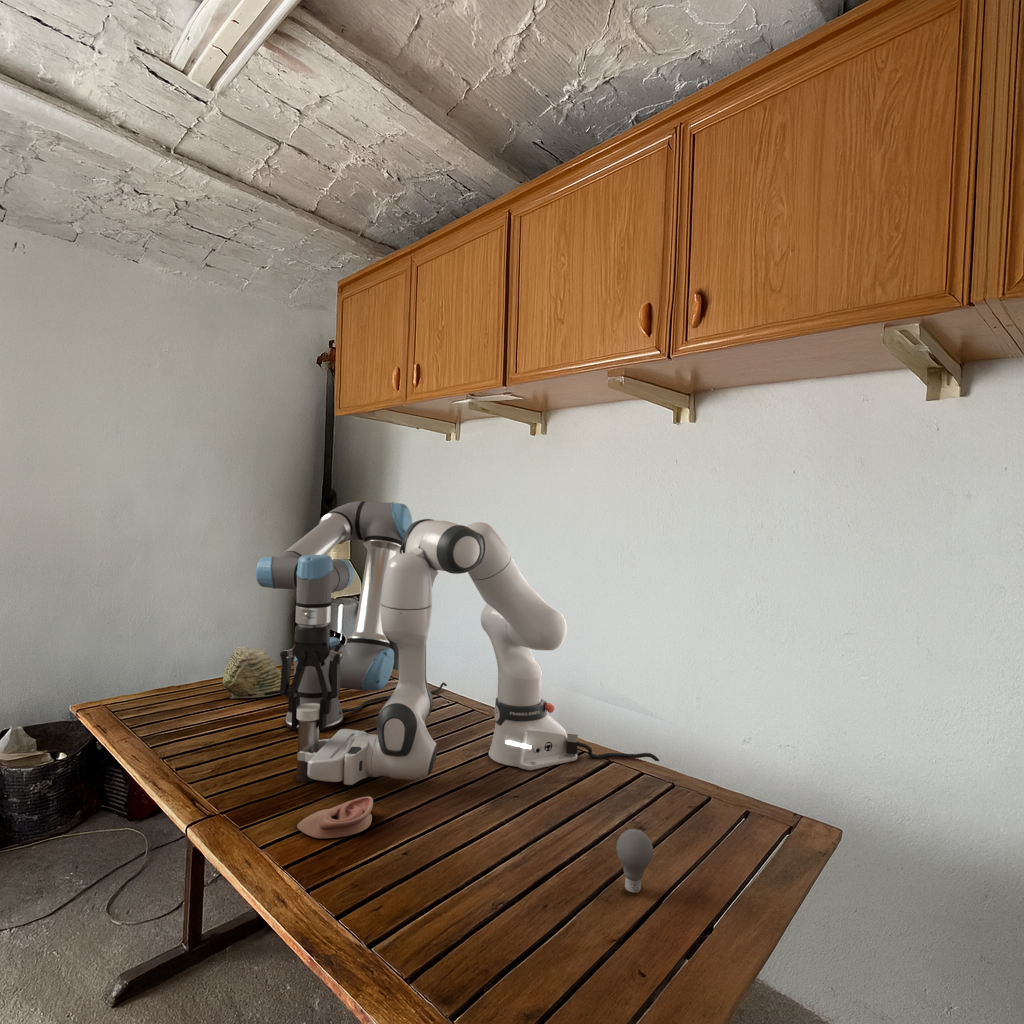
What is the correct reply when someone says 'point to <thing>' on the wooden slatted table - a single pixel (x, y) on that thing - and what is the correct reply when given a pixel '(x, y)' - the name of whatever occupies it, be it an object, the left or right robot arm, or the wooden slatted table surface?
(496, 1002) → the wooden slatted table surface
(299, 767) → the metal cylinder
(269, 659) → the fossil
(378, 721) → the right robot arm
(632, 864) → the light bulb
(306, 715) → the lid
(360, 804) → the anatomical model
